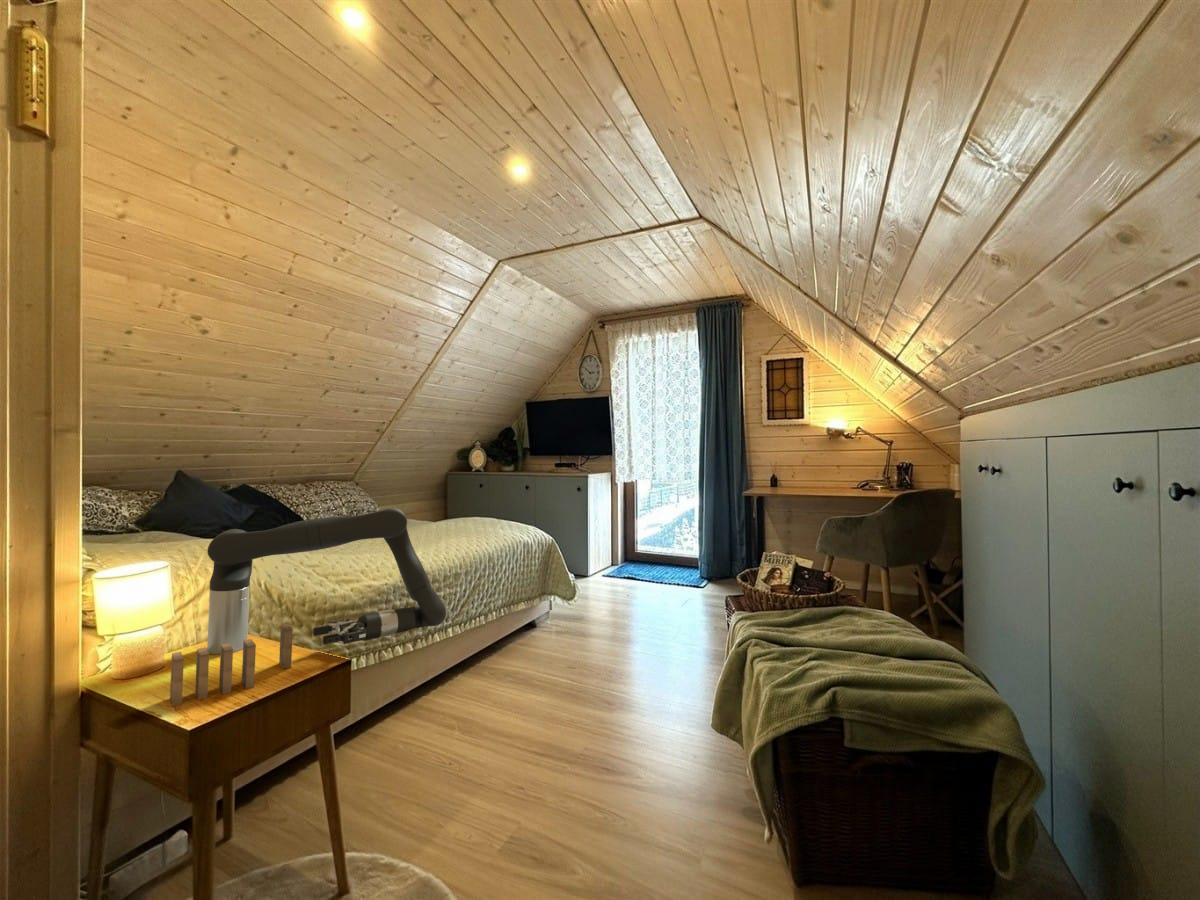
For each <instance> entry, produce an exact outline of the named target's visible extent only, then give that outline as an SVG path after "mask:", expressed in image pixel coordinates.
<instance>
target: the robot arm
mask: <svg viewBox="0 0 1200 900" xmlns="http://www.w3.org/2000/svg"><path fill="white" fill-rule="evenodd" d="M407 527H408V519H407V516H406V513H404V512H403V511H402V510H401V509H399V508H396V507H395V508H394V507H388V508H385V509H381V510H379V511H374V512H369V513H364V514H359V515H353V516H351V515H348V516H345V515H344V516H328V517H318V518H312V519H304V520H299V521H296V522H291V523H288V524H283V525H281V526H280V525H279V526H278V527H277V526H276V527H274V528H270V529H266V530H259V531H258V530H256V531H245V530H243V529H239V528H231V529H228V530H224V531H223V532H220V533H219V534H217V535H216V536H215V537H214V538H213V539H212V540H211V541H210V543H209V544H208V546H207V555H208V558H209V559H210V560H211V561H212V562H213V569H212V573H211V577H210V580H209V595H208V596H209V598H208V599H209V600H208V603H209V604H208V621H207V623H208V624H207V625H208V626H207V640H206V641H207V644H206V649H207V651H208V653H209V655H210V654H211V655H220V654H221V644H226V643H229V644H230V645H231V647H232V648H233V653H236V652H240V651H243V640H248V635H249V633H248V632H249V611H250V610H249V609H250V584H251V583H250V581H251V577H252V571H253V560H256V559H259V558H264V557H269V556H277V555H278V556H280V555H289V554H298V553H306V552H313V551H320V550H326V549H329V548H330V549H331V548H334V547H338V546H342V545H346V544H349V543H353V542H357V541H361V540H370V539H384V541H385V543H386V544H387V546H388V547H389V549H390V550H391V551H390V552H391V553H392V555H393V557H394V560H395V562H396V566H397V568H398V571H399V573H400V576H401V578H402V581H403V584H404V586H405V588H406V591H407V593H408V595H409V597H410V599H411V600H412V601H414V602H416V603H417V604H418V605H415V606H411V607H401V608H400V607H399V608H396V609H395V608H394V609H384V610H379V611H373V612H366V613H362V614H360V615H359V617H358V619H357V621H354V620H351V618H344V619H337V620H332V621H331V620H330V621H327V624H326V625H321V626H314V627H313V628H312V635H313V636H314V637H317V636H322V635H323V636H322V637H321V638H322V639H321V640H322V641H321V642H322V645H325V646H326V645H329V644H333V643H342V644H343V645H347V644H348V645H349V644H352V643H357V642H361V641H363V642H366V641H371V640H376V639H381V638H384V637H389V636H392V635H395V634H400V633H404V632H409V631H411V630H413V629H414V630H415V629H421V628H426V627H435V626H439V625H441V624H443V622H444V621H445V619H446V617H447V611H446V607H445V604H444V602H443V601H442V599H441V598H440V596H439V595H438V594H437V592H436V591H435V589H434V588H433V586H432V583H431V581H430V579H429V576H428V575H427V572H426V570H425V567H424V566H423V564H422V562H421V561H420V558H419V557H418V555H417V553H416V551H415V548H414V547H413V544H412V542H411V539H410V536H409V532H408V528H407Z"/></svg>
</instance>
